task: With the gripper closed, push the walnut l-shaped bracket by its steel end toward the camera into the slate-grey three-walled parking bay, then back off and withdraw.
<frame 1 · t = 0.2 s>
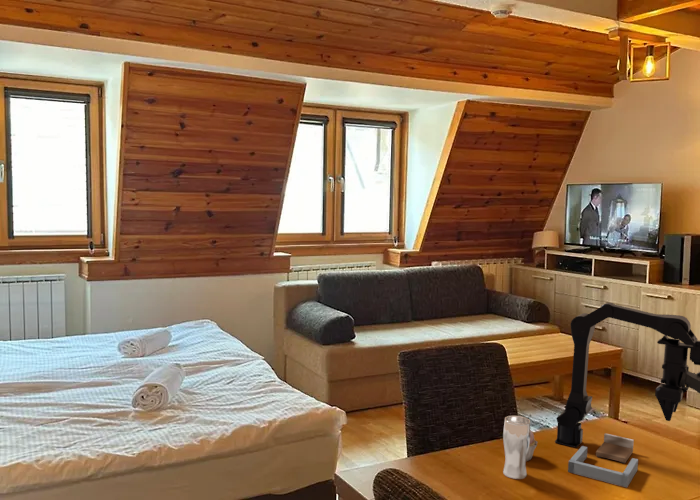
hand: (670, 416, 175), 14 cm above the table, fingers open, 9 cm apart
l-shaped bracket: (614, 454, 182), on the table
bay: (603, 470, 172), on the table
beer glass: (514, 474, 168), on the table
cupcake: (519, 457, 179), on the table
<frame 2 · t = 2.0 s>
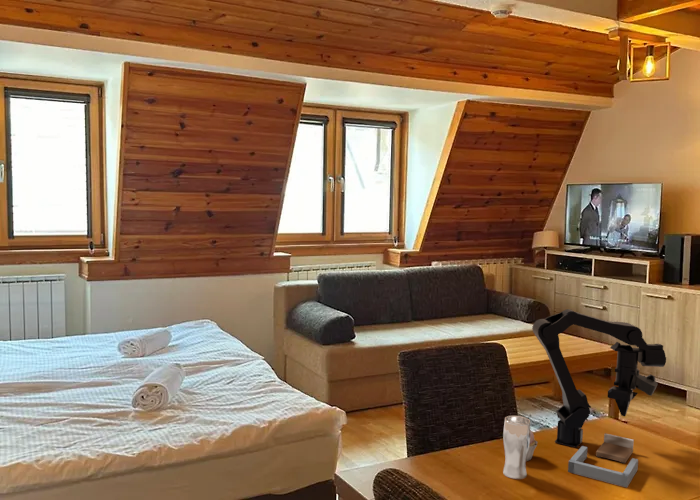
hand: (623, 415, 190), 9 cm above the table, fingers closed
nothing on the table moved.
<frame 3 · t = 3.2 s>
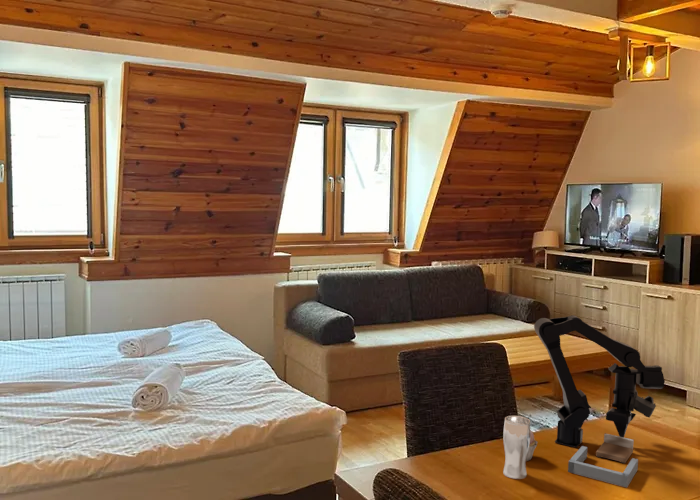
hand: (621, 437, 190), 2 cm above the table, fingers closed
nothing on the table moved.
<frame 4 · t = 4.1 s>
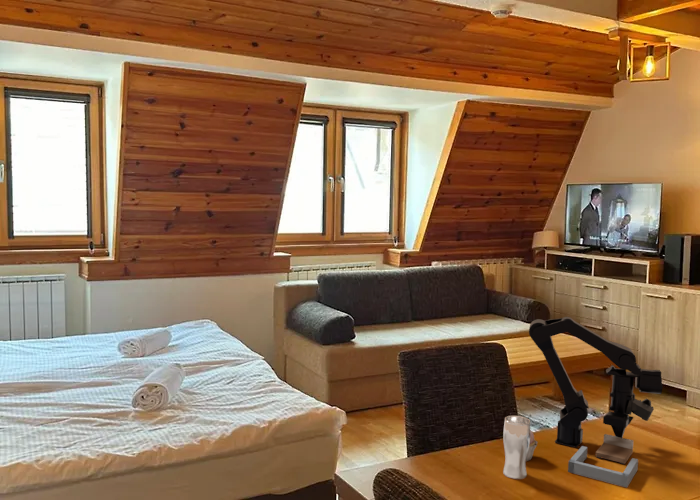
hand: (619, 440, 186), 3 cm above the table, fingers closed
l-shaped bracket: (614, 455, 182), on the table, touching gripper
everything else where it was.
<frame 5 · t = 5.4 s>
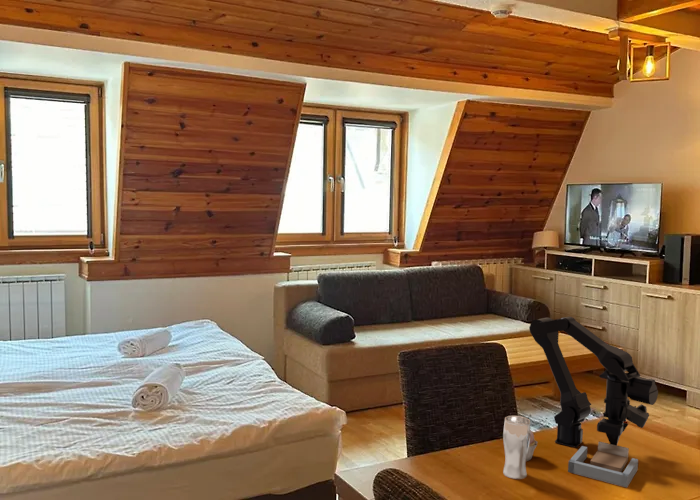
hand: (613, 448, 180), 3 cm above the table, fingers closed
l-shaped bracket: (609, 464, 176), on the table, touching gripper
everything else where it was.
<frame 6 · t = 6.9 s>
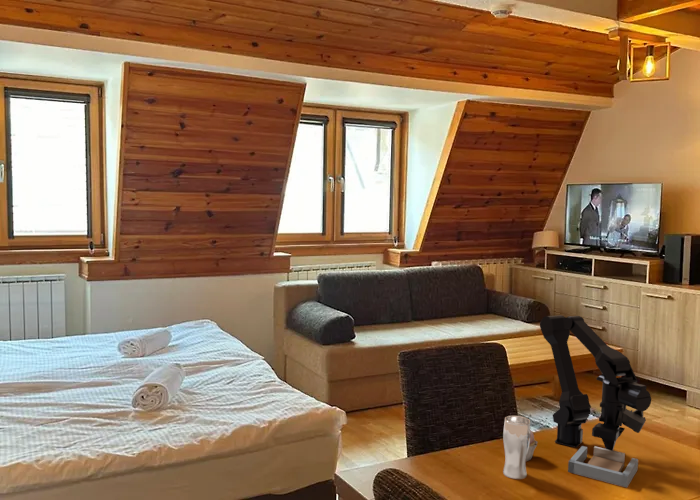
hand: (609, 453, 177), 3 cm above the table, fingers closed
l-shaped bracket: (604, 469, 172), on the table, touching gripper
everything else where it was.
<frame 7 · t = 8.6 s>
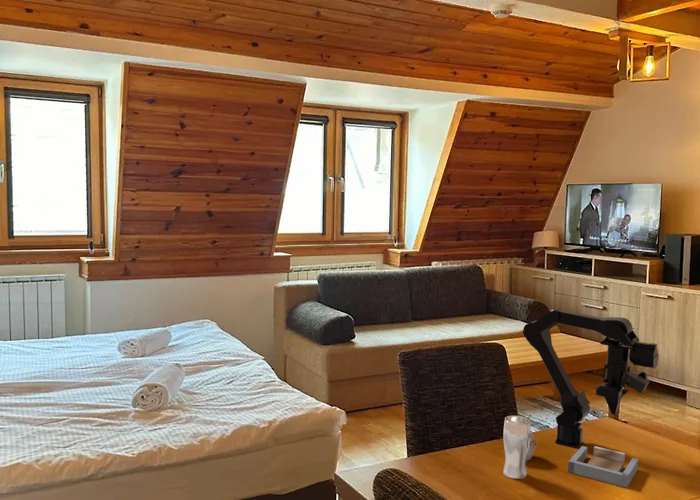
hand: (613, 414, 182), 12 cm above the table, fingers closed
l-shaped bracket: (604, 469, 172), on the table
everything else where it was.
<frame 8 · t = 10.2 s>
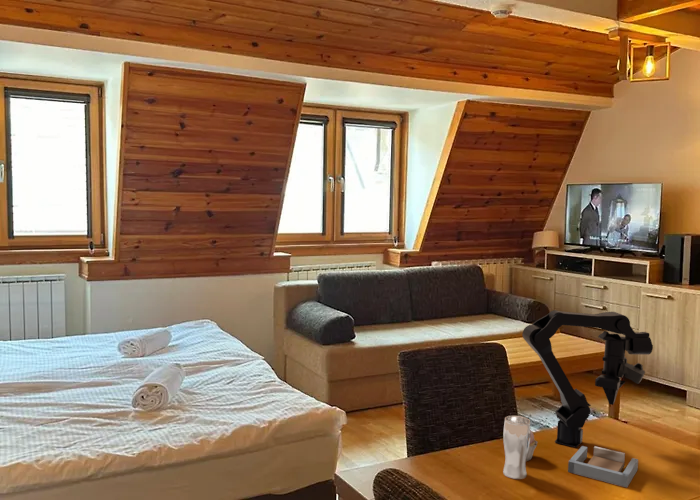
hand: (611, 404, 191), 12 cm above the table, fingers closed
nothing on the table moved.
at the end: l-shaped bracket 0.8 cm off-centre on the bay, point 0.0 cm above the bay's base; l-shaped bracket tilted 0° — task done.
